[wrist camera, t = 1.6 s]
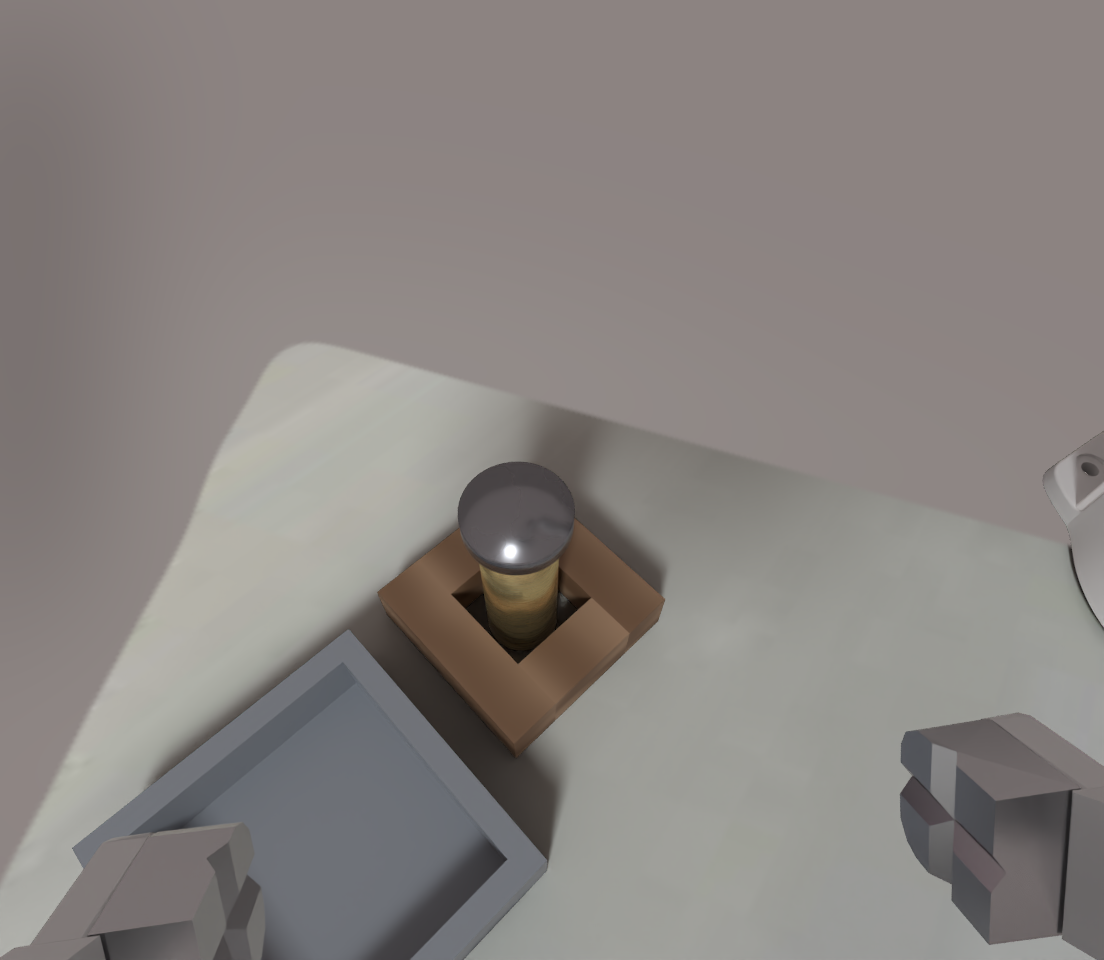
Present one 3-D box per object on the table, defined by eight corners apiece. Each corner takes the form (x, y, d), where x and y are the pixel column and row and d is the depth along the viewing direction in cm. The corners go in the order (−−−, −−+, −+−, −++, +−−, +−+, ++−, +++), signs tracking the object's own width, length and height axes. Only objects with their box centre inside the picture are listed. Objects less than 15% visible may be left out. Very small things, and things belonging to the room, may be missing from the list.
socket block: (527, 501, 39) (526, 474, 37) (658, 620, 36) (665, 599, 34) (386, 614, 36) (377, 592, 34) (515, 758, 33) (514, 744, 30)
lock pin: (524, 560, 38) (519, 442, 29) (585, 619, 36) (599, 512, 28) (459, 616, 36) (433, 508, 28) (519, 679, 34) (512, 586, 26)
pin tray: (364, 657, 35) (348, 628, 32) (546, 870, 30) (547, 860, 27) (117, 859, 30) (72, 848, 27) (287, 1146, 26) (254, 1169, 23)
